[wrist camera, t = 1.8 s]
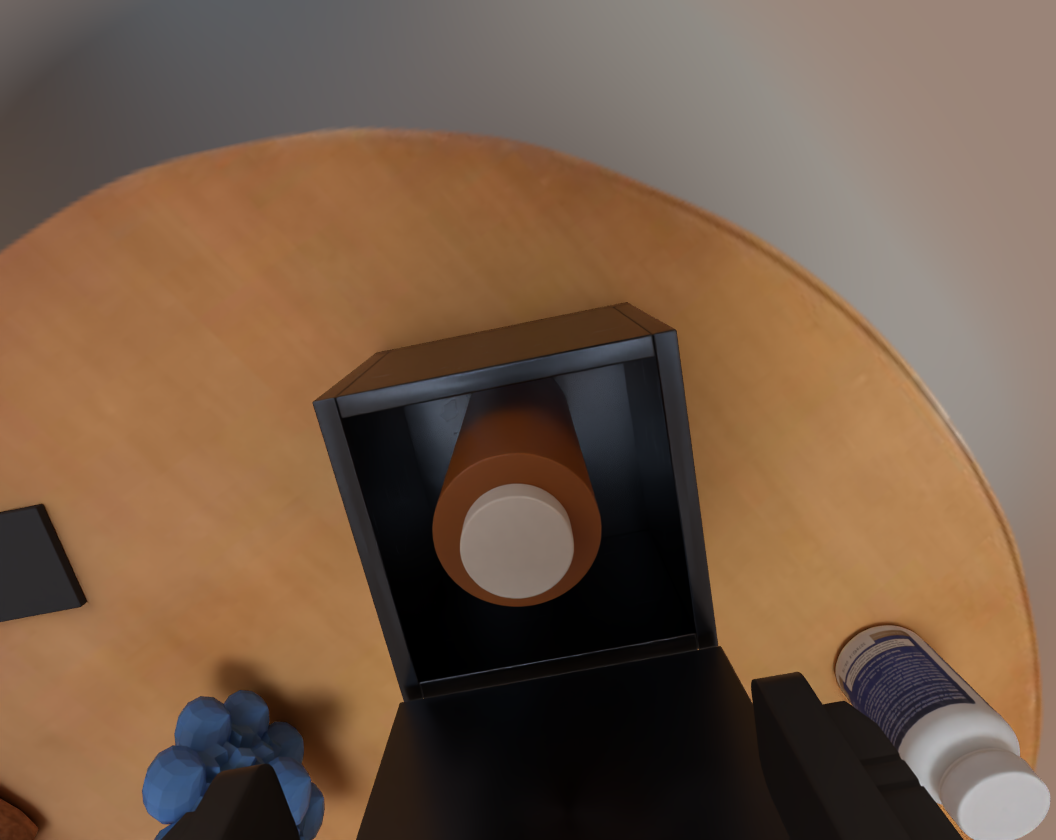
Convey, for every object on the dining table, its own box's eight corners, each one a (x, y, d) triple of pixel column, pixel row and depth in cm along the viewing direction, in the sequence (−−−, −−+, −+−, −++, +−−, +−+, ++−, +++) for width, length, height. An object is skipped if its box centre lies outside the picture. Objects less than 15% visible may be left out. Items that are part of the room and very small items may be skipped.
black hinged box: (375, 352, 31) (311, 402, 21) (627, 301, 30) (676, 329, 21) (435, 575, 34) (403, 702, 25) (662, 533, 34) (718, 646, 24)
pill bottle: (815, 684, 36) (917, 838, 27) (861, 609, 35) (986, 744, 26) (894, 711, 37) (1022, 871, 28) (943, 639, 36) (1093, 781, 26)
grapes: (403, 760, 37) (352, 991, 26) (315, 810, 38) (228, 1053, 27) (279, 621, 35) (160, 810, 23) (187, 678, 36) (29, 887, 24)
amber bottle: (457, 376, 30) (407, 484, 17) (558, 355, 30) (589, 449, 17) (479, 470, 32) (449, 640, 18) (576, 452, 31) (619, 610, 18)
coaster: (-65, 524, 33) (-74, 529, 32) (42, 503, 33) (35, 507, 32) (-16, 621, 34) (-23, 626, 34) (87, 601, 34) (81, 607, 34)
